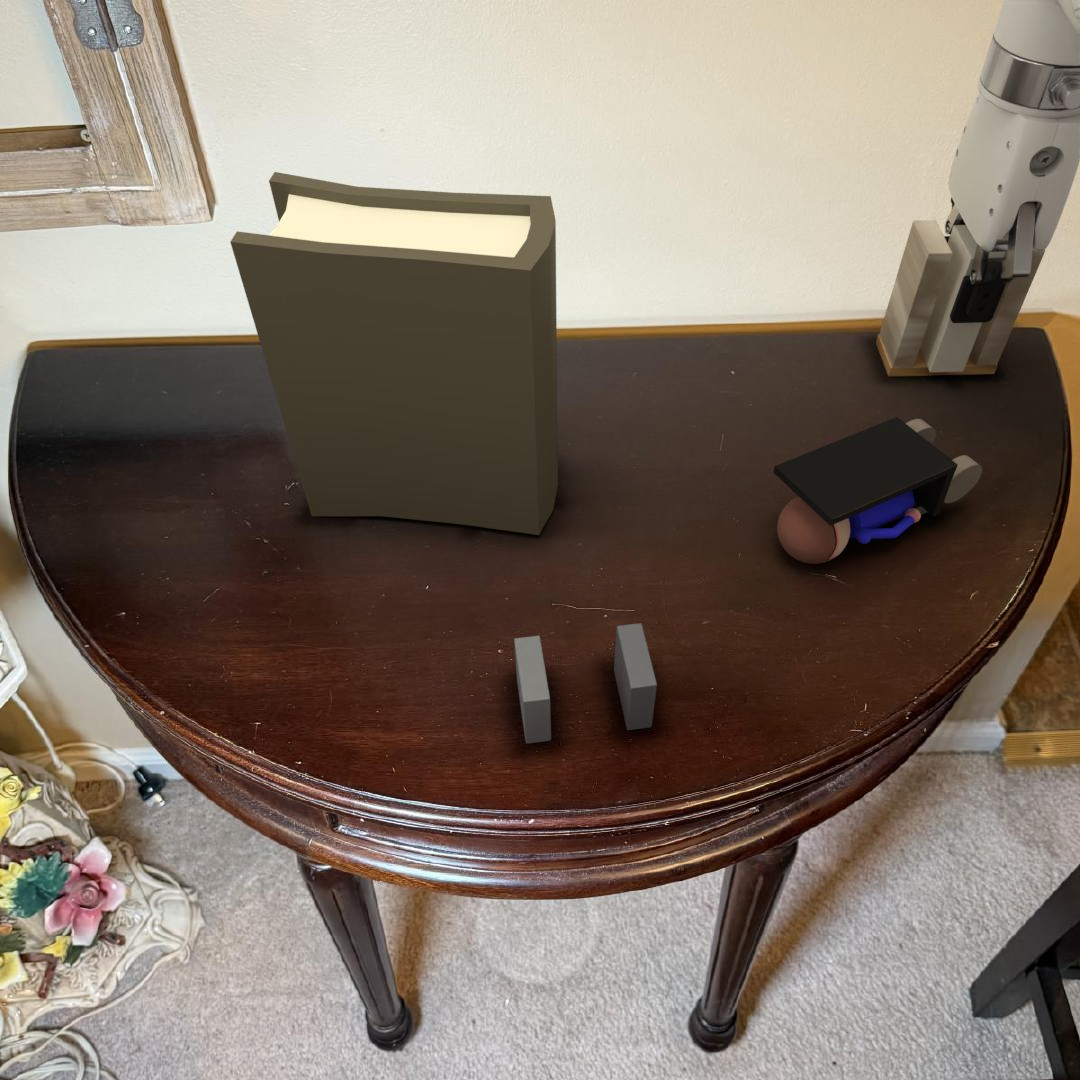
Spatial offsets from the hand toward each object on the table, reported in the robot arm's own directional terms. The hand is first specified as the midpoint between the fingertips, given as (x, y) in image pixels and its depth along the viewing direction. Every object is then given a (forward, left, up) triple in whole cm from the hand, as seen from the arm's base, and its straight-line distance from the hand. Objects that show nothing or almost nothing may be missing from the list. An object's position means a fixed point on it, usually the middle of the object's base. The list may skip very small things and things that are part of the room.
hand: (960, 297), depth 79 cm
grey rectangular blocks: (+16, +43, -7) cm, 46 cm away
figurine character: (+3, +21, -7) cm, 22 cm away
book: (+33, +29, -7) cm, 45 cm away
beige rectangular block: (0, 0, -6) cm, 6 cm away
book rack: (0, -1, -7) cm, 7 cm away
